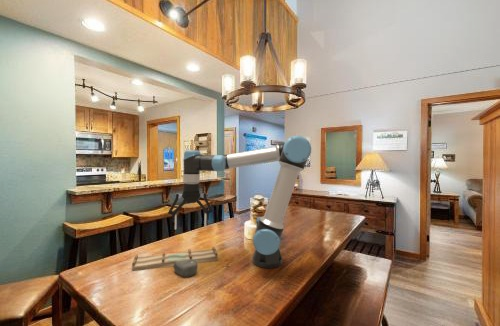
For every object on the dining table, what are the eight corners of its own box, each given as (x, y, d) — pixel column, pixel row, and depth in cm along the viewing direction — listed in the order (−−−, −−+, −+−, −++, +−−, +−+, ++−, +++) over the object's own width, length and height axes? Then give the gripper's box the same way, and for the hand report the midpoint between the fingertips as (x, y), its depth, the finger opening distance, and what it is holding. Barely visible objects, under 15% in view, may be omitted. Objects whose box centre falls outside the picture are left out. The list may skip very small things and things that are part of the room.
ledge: (217, 260, 122) (217, 253, 122) (132, 271, 109) (132, 263, 109) (214, 252, 132) (214, 246, 132) (135, 261, 120) (135, 254, 120)
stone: (190, 266, 115) (193, 250, 111) (196, 281, 109) (200, 265, 105) (171, 270, 110) (174, 255, 106) (177, 287, 103) (180, 270, 100)
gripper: (216, 182, 118) (215, 224, 118) (164, 182, 111) (163, 227, 111) (218, 183, 111) (218, 228, 111) (162, 184, 104) (161, 232, 104)
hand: (190, 228), depth 111 cm, fingers open, 13 cm apart
